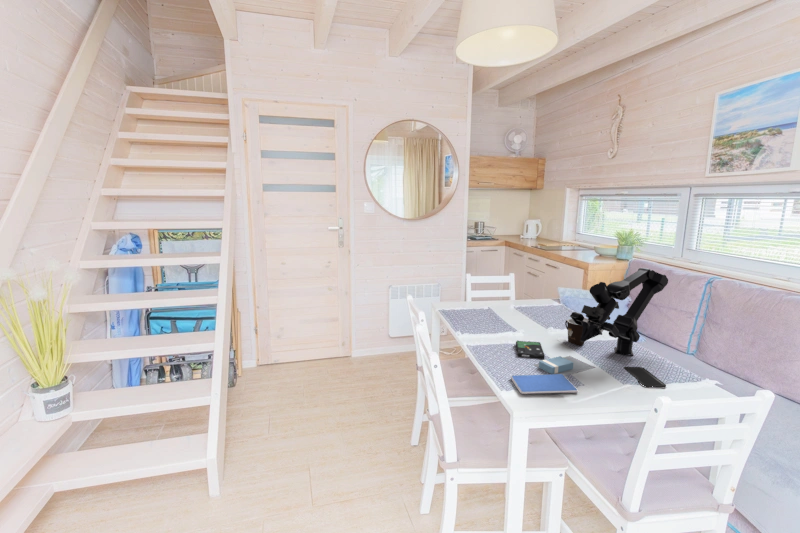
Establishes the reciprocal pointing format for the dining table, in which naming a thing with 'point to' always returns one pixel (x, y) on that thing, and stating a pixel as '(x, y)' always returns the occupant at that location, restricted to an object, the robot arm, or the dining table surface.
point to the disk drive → (529, 349)
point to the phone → (645, 377)
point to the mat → (577, 366)
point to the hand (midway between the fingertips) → (581, 341)
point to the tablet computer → (543, 384)
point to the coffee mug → (574, 332)
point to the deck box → (556, 365)
